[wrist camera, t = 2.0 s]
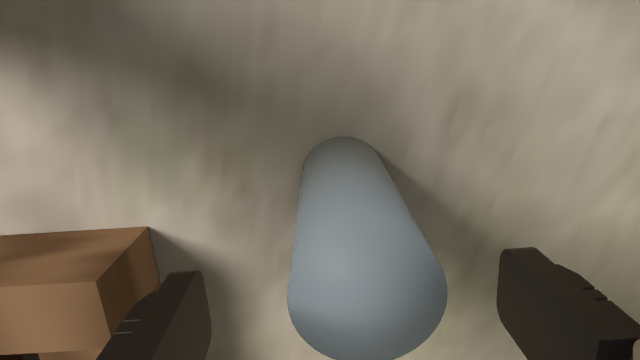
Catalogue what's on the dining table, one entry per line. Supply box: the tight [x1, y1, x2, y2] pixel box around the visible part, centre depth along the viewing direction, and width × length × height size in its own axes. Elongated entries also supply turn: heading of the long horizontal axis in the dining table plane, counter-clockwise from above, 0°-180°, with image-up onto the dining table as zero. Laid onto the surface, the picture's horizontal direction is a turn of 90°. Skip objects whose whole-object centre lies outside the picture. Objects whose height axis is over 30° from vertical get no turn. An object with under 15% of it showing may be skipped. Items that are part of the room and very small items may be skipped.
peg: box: [287, 137, 447, 360], centre depth 15 cm, size 4×4×10 cm
